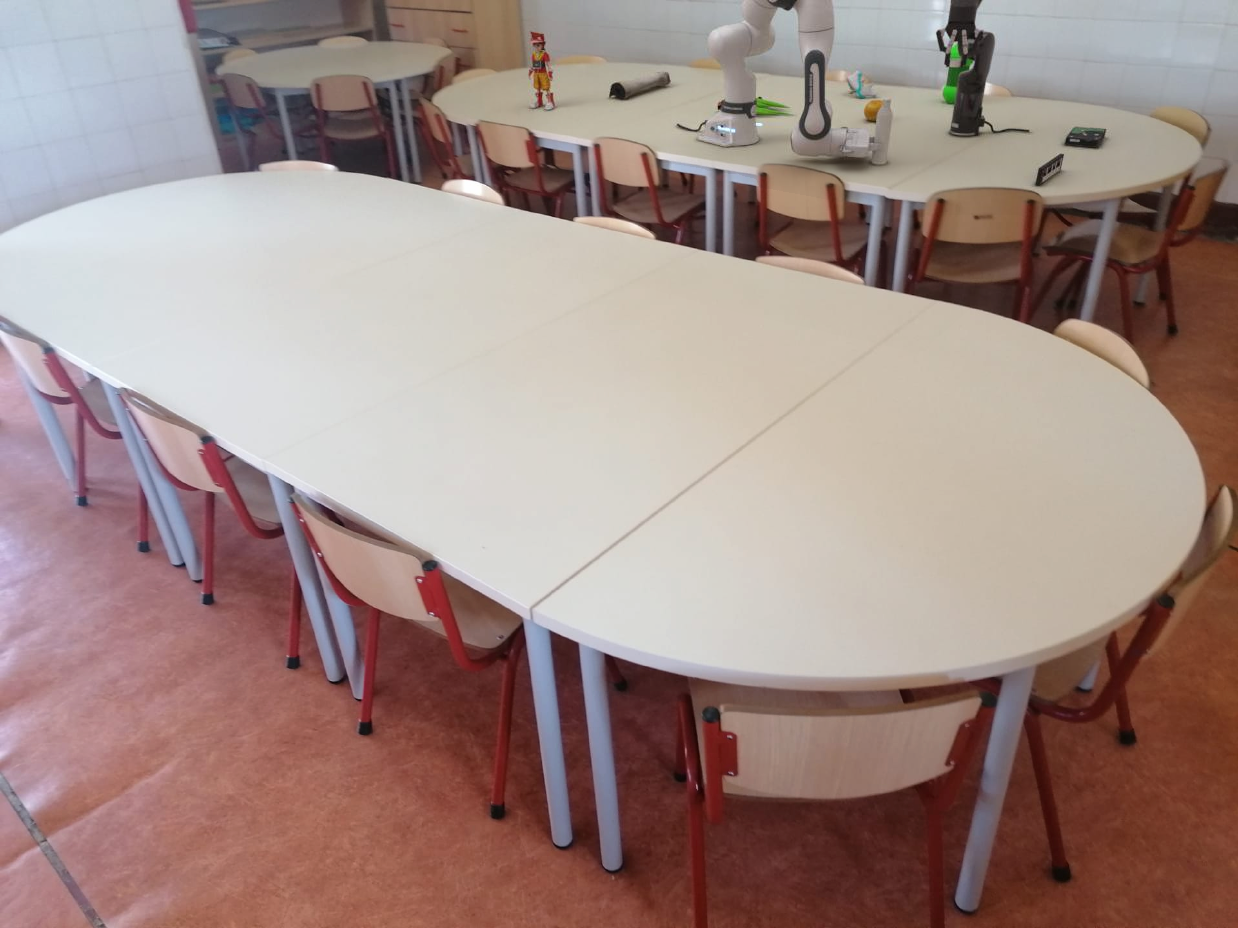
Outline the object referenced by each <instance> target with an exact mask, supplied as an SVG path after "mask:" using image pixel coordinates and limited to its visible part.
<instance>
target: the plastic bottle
mask: <svg viewBox="0 0 1238 928" xmlns="http://www.w3.org/2000/svg"><path fill="white" fill-rule="evenodd" d="M950 53H951V57H950V59H962V58H960V56H959V54H958V48H957V43H956V44H954V45H952V48H951V52H950ZM972 64H974V61H971V60H967V63H966V65H965V66H963V68H961V67H948V69H947V70H948V71H947V76H946V77H947V78H946V84H945V85H944V87H943V90H942V97H943V99H944V100H945V101H946V102H947V103H948V104H954V103H955V96H956V90H957V83H958V77H959V74H960V73H961V72H963V71H967V70H970V67H971V65H972Z"/></svg>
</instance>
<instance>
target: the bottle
mask: <svg viewBox="0 0 1238 928" xmlns="http://www.w3.org/2000/svg"><path fill="white" fill-rule="evenodd" d="M882 101H883V102H882V107H881V108H880V109H879V111H878V113H877V120H876V121H875V128H874V135H873V136H874V143H873V144H877V143H884V148H883V149H882V150H874V151H871V158H870V159H871V160H870V163H871V164H873V165H877V166H882V165H885V164H887V160H888V152H889V146H890V145H889V144H890V137H891V130H892V123H893V116H894V112H893V110H892V107H891V104H892V103H891V101H892V98H890V97H883V98H882Z"/></svg>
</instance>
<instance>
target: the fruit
mask: <svg viewBox="0 0 1238 928" xmlns="http://www.w3.org/2000/svg"><path fill="white" fill-rule="evenodd" d="M882 102H883V100H881V99H874V100H870V101H869V102H867V103H866V105H865V106H864V110H863V115H864V117H865V119H867V120H868V121H871V122H876V120H877V113H878V111H879V109H880V108H881V107H882Z"/></svg>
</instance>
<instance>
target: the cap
mask: <svg viewBox="0 0 1238 928" xmlns="http://www.w3.org/2000/svg"><path fill="white" fill-rule="evenodd" d="M961 61H962V59H950V61H949V67H961ZM949 67H948V68H949Z"/></svg>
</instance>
